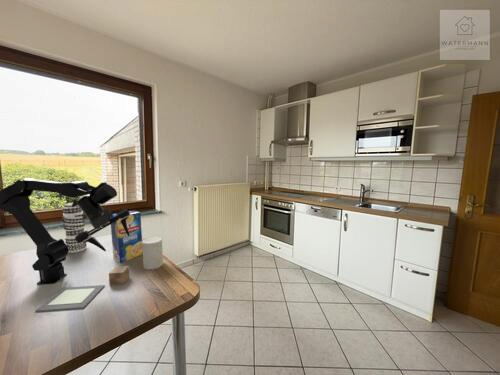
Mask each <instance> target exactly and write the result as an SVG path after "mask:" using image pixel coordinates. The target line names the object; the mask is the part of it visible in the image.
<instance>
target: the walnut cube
mask: <svg viewBox="0 0 500 375" xmlns="http://www.w3.org/2000/svg"><path fill="white" fill-rule="evenodd" d="M129 268H130V267H129V266H128V265H124V266H114V267H113V269H112V270H110V272H109V273H108V281H109V282H108V283H109V286H119V285H121V286H123V285H125V283H126V282H127V281H128V280H129V278H130V271H129Z"/></svg>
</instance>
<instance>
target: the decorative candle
mask: <svg viewBox="0 0 500 375" xmlns="http://www.w3.org/2000/svg"><path fill="white" fill-rule="evenodd" d="M72 204H73V202H69V203H66V204H64V205H63V206H62V212H63V213H62V215H63V216H62V217H61V219H62V226H63V230H64V231H65V238H64V240H65V241H64V243H65V244H66V245H67V246H68V247H67V248H68V249H69V252H68V254H69V253H70V254H71V253H72V254H74V253H79V252H82V251H84V250H86V249H87V248H88V247H87V243H84V242H82V243H79V244H78V242H77V241H76V240H75V237H76V236H77V235H79V234H81V233H83V232H84V231H85V222H86V221H85V217H84V216H86V215H85V213H84V212H83V211H82V209H81V208H80V207H79V206H76V207H72Z"/></svg>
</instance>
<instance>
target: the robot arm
mask: <svg viewBox="0 0 500 375" xmlns="http://www.w3.org/2000/svg"><path fill="white" fill-rule="evenodd" d="M34 191H37V192H38V191H39V192H47V193H56V194H59V195H61V196H62V197H63V196H64V197H67V198H69V199H73V202H72V203H73V204H72V207H76V206H79V207H80V208H81V209H82V211H83V214H85V215H84V216H86V218H87V219H88V220H89V223H90V225H91V226H92V227H93V228H92V229H91V230H89V231H88V230H84V232H83V233H81V234H79V235H77V236H76V237H75V240H76V241H77V242H78V244H79V243H82V242H84V243H86V244H87V243H90V244H92V245H94V246H96V247H98V248H99V249H100V250H102V251H103V252H106V251H107V250H106V248H105V247H104V246H103V245H102V244H101V242H99V241H98V239H97V238H96V237H94V236H92V235H94V234H96V233H98V232H99V231H101V230H104V229H105V228H106V227H108V226H111V224H112V223H114V222H116V221H117V220H119V219H120V220H121V223H122V225H123V227H124V229H125V231H126V233H127V235H128V236H130V235H129V232H128V228H127V223H126V219H128V217H127V216H129V215H130V213H129V212H128V211H129V210H128V209H126V208H124V209H122V210H121V211H119V212H117V213H116V214H117V216H115V217H114V218H112V219H110V217H112V216H113V215H112V214H113V213H112V212H111V211H110V209H109V208H105V209H104V208H103V207H102V205H105V204H106V203H107V202H109V201H111V200H112V199H114V198H116V197H117V196H118V191H117V190H116V188H115V187H113V186H112V185H110V184H108V183H107V182H106V181H104V182H101V183H99V184H98V185H97V186H93V185H91V184H89V182H87V181H85V180H79V181H77V180H76V181H63V182H62V181H54V180H46V179H35V178H20V179H18V180H16V181H15V182H14V183H12V184H11V185H9V186H6V187H4V188H2V189H1V190H0V210H1V211H2V212H5V213H7V214H10V215H12V216H13V217H14V218H15V220H16V221H17V222H18V223H19V225H20V226H21V228H22V229H23V231H25V233H26V234H27V236H28V237H29V238H30V239H31V240H32V242H33V243H34V245H35V246H36V253H35V254H36V256H37V260H36V261H35V262H34V263H33V264H32V265H31V267H32V269H33V271H38V273H39V281H38V282H36V285H49V284H51V285H52V284H56V283H58V282H59V281H60V280H62V279H63V278H64V277H66V276H67V274H68V273H65V268H64V265H63V262H64V261H66V259H67V256H68V255H69V253H68V252H69V249H68V248H67V247H68V246H67V245H66V243H65V241H64V239H63V238H60V239H55V238H54V237H52V235H51V234H50V233H49V231H48V230H47V229H46V227H45V226H44V225H43V223H42V222H41V221H40V220H39V218H38V217H37V216H36V214H35V213H34V211H33V210H32V209H31V199H30V196H32V195H33V194H34ZM80 197H81V198H80ZM75 198H76V199H75Z"/></svg>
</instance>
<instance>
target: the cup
mask: <svg viewBox="0 0 500 375" xmlns="http://www.w3.org/2000/svg"><path fill="white" fill-rule="evenodd" d="M162 238H163V237H160V236H150V237H147V238H144V239H142V248H143V255H142V261H143V269H144V268H145V269H144V270H147V269H152V270H156V269H159V268H161V267H162V266H163V265H164V257H163V256H164V255H163V254H164V253H163V251H164V250H163V239H162ZM162 264H163V265H162ZM161 265H162V266H161ZM160 266H161V267H160ZM158 267H159V268H158ZM155 268H156V269H155Z"/></svg>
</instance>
